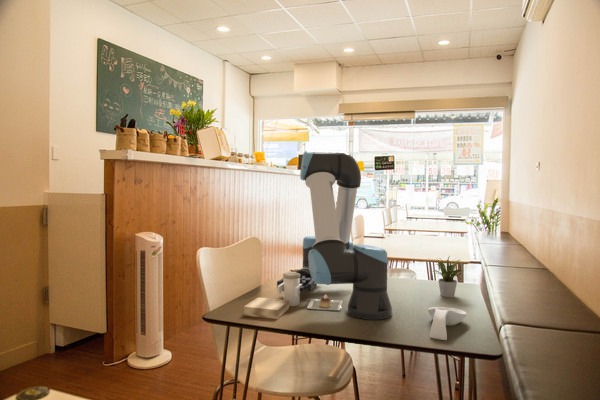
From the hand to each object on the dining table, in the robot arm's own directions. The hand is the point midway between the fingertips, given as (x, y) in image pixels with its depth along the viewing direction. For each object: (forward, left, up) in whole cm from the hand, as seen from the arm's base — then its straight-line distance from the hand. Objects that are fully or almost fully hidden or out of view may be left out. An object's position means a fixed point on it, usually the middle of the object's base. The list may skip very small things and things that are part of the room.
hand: (287, 291), depth 145 cm
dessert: (-12, -7, -7) cm, 16 cm away
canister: (0, -5, -6) cm, 8 cm away
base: (+5, +7, -6) cm, 10 cm away
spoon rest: (-53, +4, -7) cm, 54 cm away
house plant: (-55, -35, -6) cm, 66 cm away
